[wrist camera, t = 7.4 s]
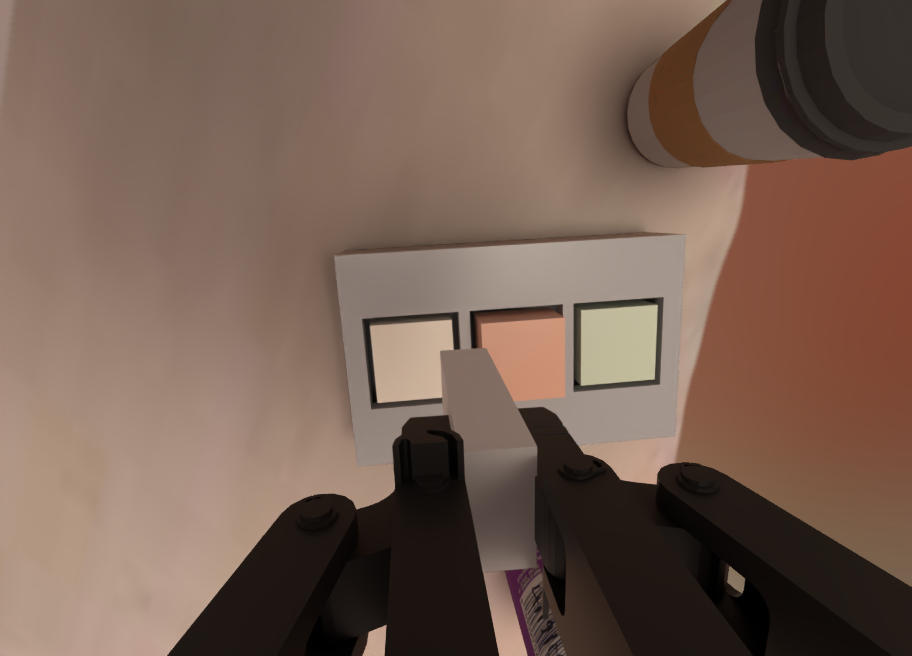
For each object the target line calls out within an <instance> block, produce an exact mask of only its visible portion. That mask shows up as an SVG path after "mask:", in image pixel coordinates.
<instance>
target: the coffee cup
mask: <svg viewBox="0 0 912 656" xmlns="http://www.w3.org/2000/svg"><path fill="white" fill-rule="evenodd" d="M627 118H628V128H629V132H630V135H631V137H632V140H633V142H634V144H635V145H636V147H637V148H638V150H639V151H640V153H641V154H642V155H644V156H645V157H646V158H647V159H649V160H650V161H651V162H653V163H655V164H658V165H660V166H663V167H672V168H682V167H695V166H697V167H715V166H730V165H745V164H760V163H773V162H780V161H786V160H791V159H801V158H814V157H824V158H833V159H844V160H856V159H861V158H866V157H871V156H876V155H880V154H883V153H885V152H887V151H893V150H898V149H903V148H907V147H911V146H912V0H727V1H725V2H724V3H723V4H722V5H721V6H719V7H718V8H717V9H716V10H714V11H713V12H712V13H711V14H710V15H708V16H707V17H706V18H705V19H704V20H702V21H701V22H700V23H699V24H698V25H696V26H695V27H694V28H693V29H692V30H690V31H689V32H688V33H687V34H686V35H684V36H683V37H682V38H681V39H680V40H678V41H677V42H676V43H675V44H674V45H673V46H672V47H670V48H669V49H668V50H667V51H666V52H665V53H664V54H663V55H662V57H660V58H659V59H658V60H657V61H656V62H654V63H653V64H652V65H651V66H650V67H649V68H647V69H646V70H645V71H644V72H643V73H642V75H641V76H640V78H639V79H638V81H637V82H636V84H635V85H634V88H633V91H632V93H631V96H630V98H629V104H628V111H627Z"/></svg>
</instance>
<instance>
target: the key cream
mask: <svg viewBox="0 0 912 656" xmlns="http://www.w3.org/2000/svg"><path fill="white" fill-rule="evenodd" d="M370 332H371V342H372V352H373V363H374V373H375V383H376V393H377V403H384V402H395V401H407V400H419V399H431V398H442V382H441V361H440V351H443V350H453V333H452V319H451V317H450V314H449V312H448V313H434V314H420V315H406V316H393V317H379V318H373V319H372V322H371V324H370Z"/></svg>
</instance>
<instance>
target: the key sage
mask: <svg viewBox="0 0 912 656" xmlns="http://www.w3.org/2000/svg"><path fill="white" fill-rule="evenodd" d="M657 311H658V305H657V304H654V303H651V302H648V301H645V300H642V299H629V300H615V301H601V302H588V303H574V304H573V378H574V379H575V380H576V381H577V382H578V383H579V384H580V385H581V386H583V385H595V384H606V383H618V382H630V381H641V380H653V379H655V360H656V335H657Z"/></svg>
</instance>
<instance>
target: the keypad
mask: <svg viewBox="0 0 912 656" xmlns="http://www.w3.org/2000/svg"><path fill="white" fill-rule="evenodd" d="M685 241H686V234H670V233H650V232H642V233H626V234H609V235H593V236H576V237H560V238H543V239H527V240H510V241H494V242H478V243H461V244H445V245H428V246H412V247H395V248H379V249H362V250H346V251H344V252H341V253H339V254H337V255H335V256H334V262H335V271H336V280H337V289H338V298H339V307H340V316H341V325H342V334H343V343H344V352H345V361H346V369H347V378H348V387H349V396H350V405H351V414H352V423H353V432H354V441H355V450H356V459H357V467H359V466H369V465H380V464H390V463H393V451H392V445H393V443H394V441H395V439H396V438H397V437H399V436H400V435H401V434H402V426H403V425H404V424H405V423H406V422H407V421H408V420H409V419H410V418H411V417H425V416H440V415H443V403H442V398H431V399H419V400H407V401H395V402H384V403H377V393H376V383H375V373H374V363H373V352H372V342H371V332H370V324H371V322H372V319H373V318H379V317H393V316H406V315H420V314H434V313H448V312H449V314H450V317H451V319H452V333H453V350H460V349H476V348H475V327H474V313H478V312H492V311H506V310H520V309H534V308H547V307H549V308H551V309H552V310H554V311H555V312H557V313H558V314H560V315H562V316H563V317H565V397H560V398H549V399H537V400H526V401H514V403H515V404H516V406H517V408H532V407H545V408H546V409H548V410H550V411H552V412H553V413H555V414H557V416H558V417H559V419H560V420H561V422H562V423H563V426H565V427H566V429H567V430H568V432H569V434H570V435H571V436H572V438H573V439H574V440H575V442H576V443H577V445H578V446H580V445H590V444H601V443H611V442H622V441H632V440H643V439H653V438H664V437H674V436H675V431H676V412H677V393H678V374H679V355H680V336H681V317H682V298H683V279H684V260H685ZM629 299H642V300H645V301H648V302H651V303H654V304H657V305H658V311H657V335H656V360H655V379H653V380H641V381H630V382H618V383H606V384H595V385H583V386H581V385H580V384H579V383H578V382H577V381H576V380H575V379H574V378H573V304H574V303H588V302H601V301H615V300H629Z"/></svg>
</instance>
